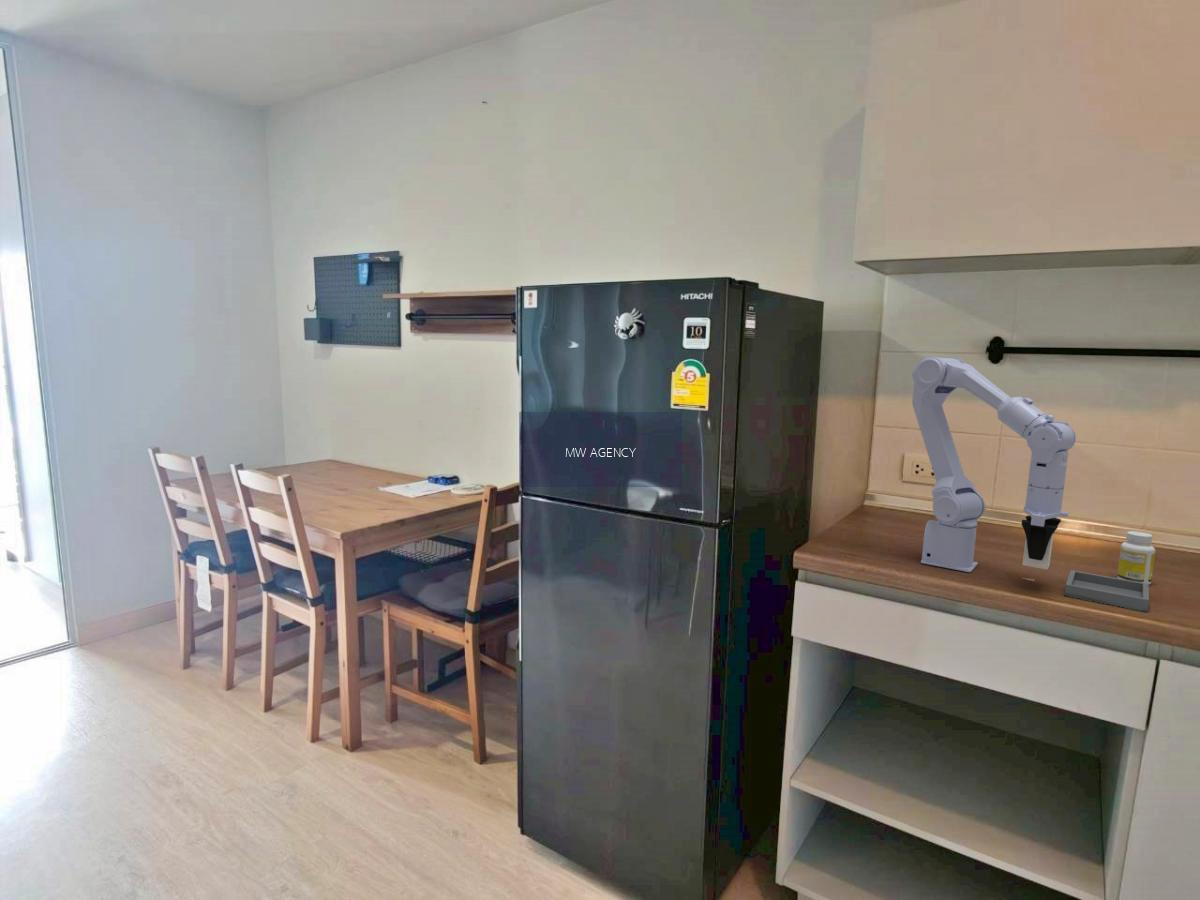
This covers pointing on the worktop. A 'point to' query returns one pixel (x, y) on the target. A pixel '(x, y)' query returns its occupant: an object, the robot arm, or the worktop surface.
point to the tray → (1108, 590)
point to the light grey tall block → (1038, 563)
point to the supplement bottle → (1136, 558)
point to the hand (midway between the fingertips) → (1037, 556)
